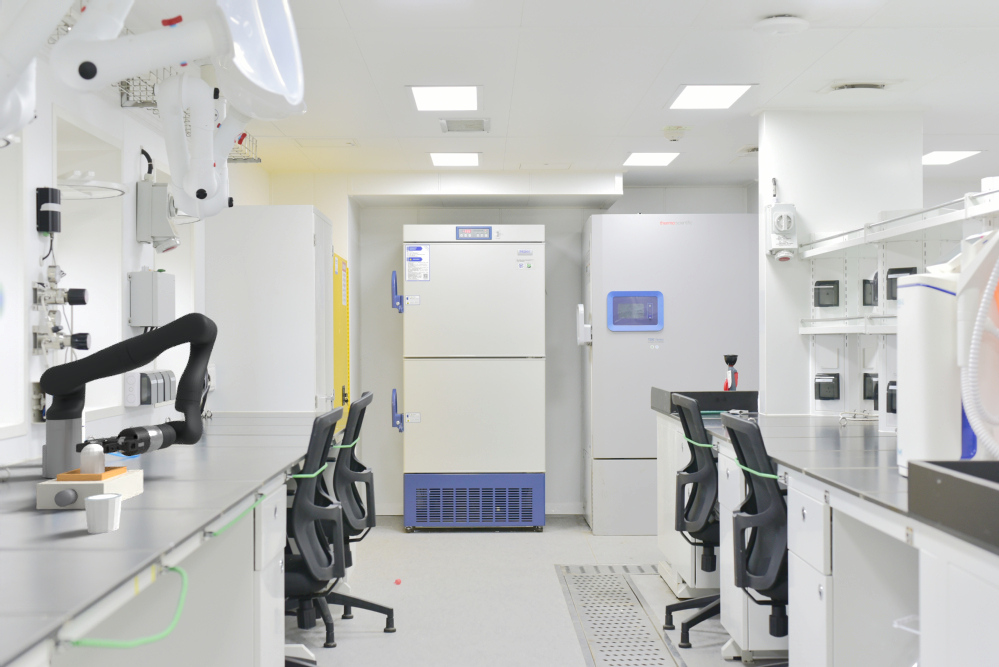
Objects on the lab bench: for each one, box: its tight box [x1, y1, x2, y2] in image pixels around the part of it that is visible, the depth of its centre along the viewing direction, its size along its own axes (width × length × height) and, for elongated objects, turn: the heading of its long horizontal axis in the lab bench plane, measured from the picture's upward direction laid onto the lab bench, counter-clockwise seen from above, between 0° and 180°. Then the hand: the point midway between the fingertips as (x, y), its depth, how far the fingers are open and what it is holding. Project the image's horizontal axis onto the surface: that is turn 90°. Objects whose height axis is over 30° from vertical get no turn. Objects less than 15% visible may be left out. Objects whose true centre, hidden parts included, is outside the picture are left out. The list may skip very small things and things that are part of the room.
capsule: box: [80, 444, 106, 474], centre depth 172 cm, size 5×5×8 cm
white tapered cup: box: [85, 493, 123, 534], centre depth 144 cm, size 7×7×7 cm
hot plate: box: [36, 466, 144, 510], centre depth 170 cm, size 16×21×8 cm
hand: (90, 448), depth 171 cm, fingers open, 8 cm apart
